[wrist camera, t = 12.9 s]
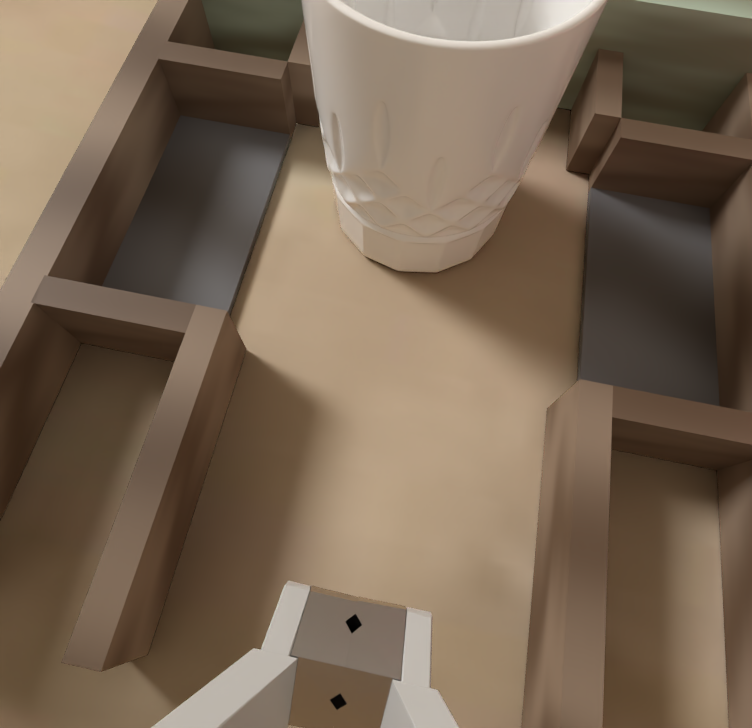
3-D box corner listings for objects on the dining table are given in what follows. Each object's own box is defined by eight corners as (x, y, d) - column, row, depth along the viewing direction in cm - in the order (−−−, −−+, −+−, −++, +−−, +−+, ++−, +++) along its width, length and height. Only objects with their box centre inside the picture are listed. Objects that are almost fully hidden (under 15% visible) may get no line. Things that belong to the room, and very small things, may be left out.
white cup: (368, 317, 20) (375, 88, 11) (293, 166, 22) (245, -124, 13) (547, 247, 21) (691, -9, 12) (456, 112, 24) (517, -183, 15)
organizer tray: (776, 799, 14) (970, 903, 10) (-79, 602, 16) (-263, 613, 11) (726, 113, 24) (813, 3, 20) (200, 26, 25) (164, -97, 21)
